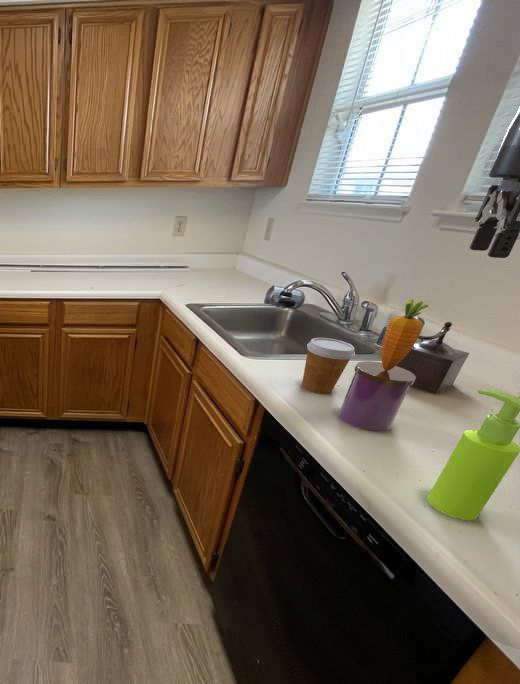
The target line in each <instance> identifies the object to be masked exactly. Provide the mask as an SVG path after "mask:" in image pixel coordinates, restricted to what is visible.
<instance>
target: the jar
mask: <svg viewBox="0 0 520 684" xmlns="http://www.w3.org/2000/svg"><path fill="white" fill-rule="evenodd" d="M415 379H416V376H415V375H414V374H413V373H411V372H410V371H408V370H405V369H403V368H400V367H397V366H395V367H394V368H392V369H391V370H388V371H385V370H384V368H383V365H382V361H369V360H367V361H366V360H365V361H364V360H363V361H359V362H357V363H356V364H355V367H354V374H353V377H352V379H351V382H350V385H349V387H348V388H347V392H346V394H345V397H344V400H343V402H342V405H341V407H340V410H339V412H338V416H339V418H340V419H341V420H342V421H344V422H345V423H347V424H349V425H351V426H353V427H356V428H358V429H362V430H365V431H370V432H376V433H383V432H388V431H389V430H390V429H391V427H392V425H393V423H394V422H395V419H396V416H397V415H398V412H399V410H400V408H401V406H402V404H403V402H404V400H405V398H406V396H407V393H408V391H409V389H410V387H411V386H410V385H412V384H413V383H414V381H415Z"/></svg>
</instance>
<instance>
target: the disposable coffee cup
mask: <svg viewBox="0 0 520 684" xmlns="http://www.w3.org/2000/svg"><path fill="white" fill-rule="evenodd" d="M306 347H307V352H306V353H307V354H306V359H305V365H304V371H303V376H302V382H301V387H303V388H304V389H305V390H307V391H310V392H312V393H316V394H322V395H327V394H328V395H329V394H331V393H332V392H333V390H334V388H335V387H336V385H337V383H338V381H339V380H340V378H341V376H342V374H343V372H344V370H345V369H346V367H347V366H348V364H349V362H350V360H351V359H352V358H353V357H354V356H355V355H356V352H355V347H354V346H353V345H352V344H351V343H348V342H346V341H343V340H339V339H335V338H328V337H314V338H311V340H310V341H309V342H308V343H307V344H306Z"/></svg>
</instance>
